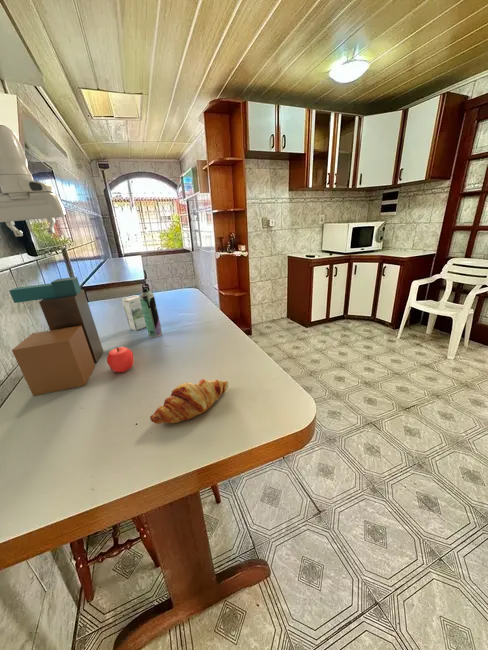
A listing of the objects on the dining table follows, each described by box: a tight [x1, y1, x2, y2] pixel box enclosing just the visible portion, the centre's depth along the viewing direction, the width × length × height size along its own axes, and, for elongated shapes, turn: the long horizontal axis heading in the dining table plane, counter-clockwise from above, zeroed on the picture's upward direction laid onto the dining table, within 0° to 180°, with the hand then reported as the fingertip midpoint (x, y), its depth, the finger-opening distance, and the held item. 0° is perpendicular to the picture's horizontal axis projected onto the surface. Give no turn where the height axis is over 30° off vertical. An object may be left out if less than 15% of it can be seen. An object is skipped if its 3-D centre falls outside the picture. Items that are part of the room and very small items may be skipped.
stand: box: [38, 289, 104, 365], centre depth 92 cm, size 10×10×24 cm
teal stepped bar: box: [8, 276, 82, 304], centre depth 85 cm, size 18×5×5 cm, turn 105°
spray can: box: [138, 287, 163, 339], centre depth 108 cm, size 6×6×20 cm
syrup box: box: [121, 294, 147, 332], centre depth 118 cm, size 6×6×14 cm
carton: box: [11, 326, 96, 397], centre depth 81 cm, size 14×12×15 cm
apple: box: [106, 346, 135, 373], centre depth 86 cm, size 8×8×8 cm
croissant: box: [149, 378, 229, 424], centre depth 66 cm, size 21×10×8 cm, turn 130°
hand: (35, 234), depth 87 cm, fingers open, 8 cm apart
